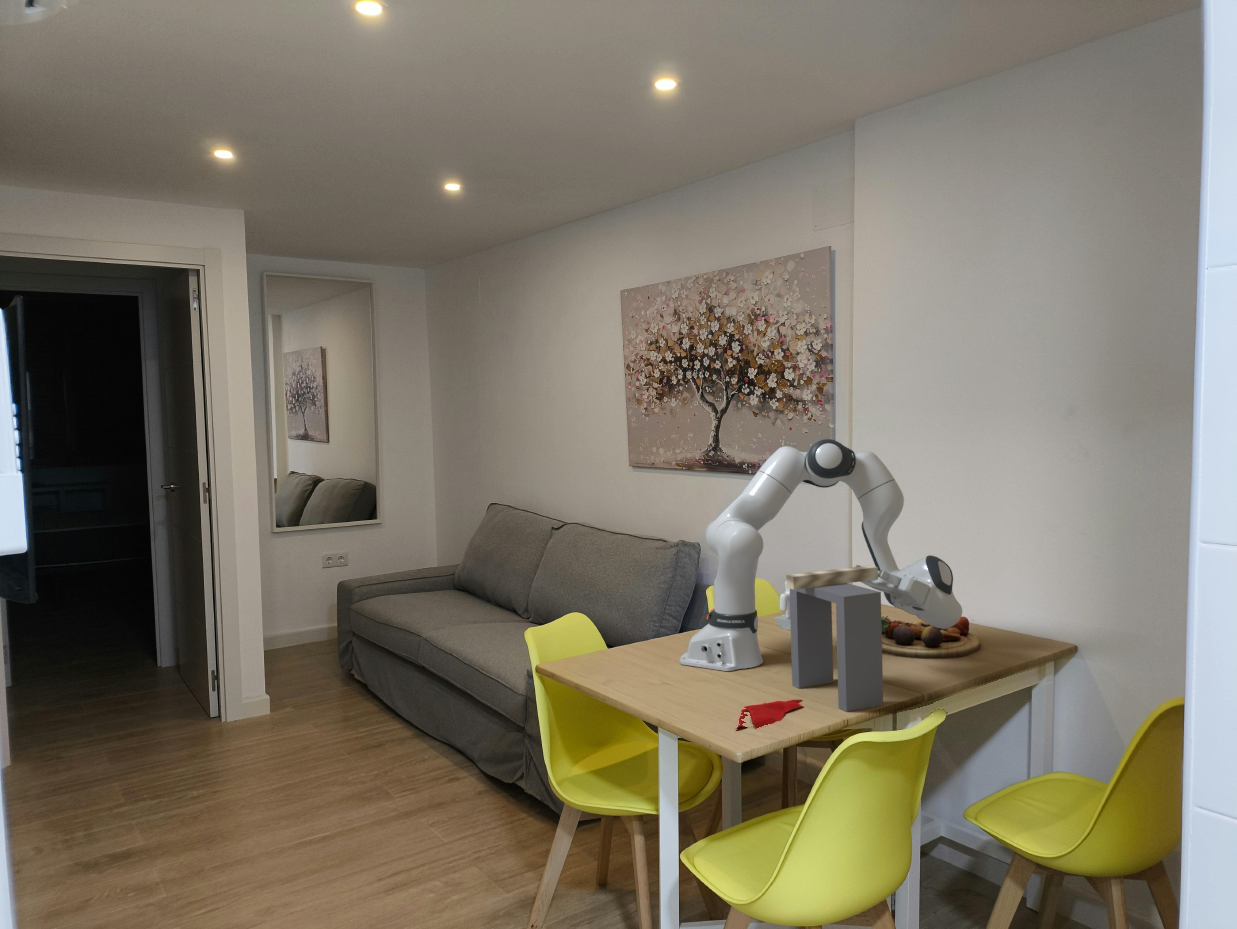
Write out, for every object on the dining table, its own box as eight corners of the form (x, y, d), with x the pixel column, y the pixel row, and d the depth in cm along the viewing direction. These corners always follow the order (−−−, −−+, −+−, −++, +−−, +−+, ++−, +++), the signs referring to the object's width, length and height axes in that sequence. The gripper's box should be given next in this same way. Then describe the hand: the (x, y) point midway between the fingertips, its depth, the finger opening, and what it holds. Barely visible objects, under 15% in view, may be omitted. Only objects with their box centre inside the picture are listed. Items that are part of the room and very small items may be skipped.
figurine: (772, 629, 268) (771, 582, 268) (789, 624, 275) (788, 577, 274) (792, 633, 263) (791, 584, 262) (809, 627, 270) (807, 580, 269)
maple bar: (793, 589, 200) (793, 576, 200) (786, 587, 203) (786, 575, 203) (877, 579, 209) (877, 567, 209) (870, 577, 212) (869, 565, 212)
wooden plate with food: (961, 630, 260) (960, 603, 260) (997, 660, 229) (996, 629, 228) (853, 632, 264) (853, 605, 263) (874, 661, 232) (873, 630, 231)
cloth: (787, 697, 205) (786, 687, 205) (830, 712, 194) (830, 702, 194) (702, 721, 191) (702, 711, 191) (744, 739, 179) (744, 728, 179)
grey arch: (846, 711, 192) (843, 596, 190) (792, 685, 212) (789, 581, 211) (883, 705, 195) (880, 592, 194) (826, 679, 216) (823, 577, 214)
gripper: (885, 575, 224) (847, 553, 220) (941, 588, 205) (900, 564, 201) (876, 597, 223) (837, 575, 219) (931, 612, 204) (890, 589, 200)
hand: (868, 570), depth 210 cm, fingers open, 8 cm apart
